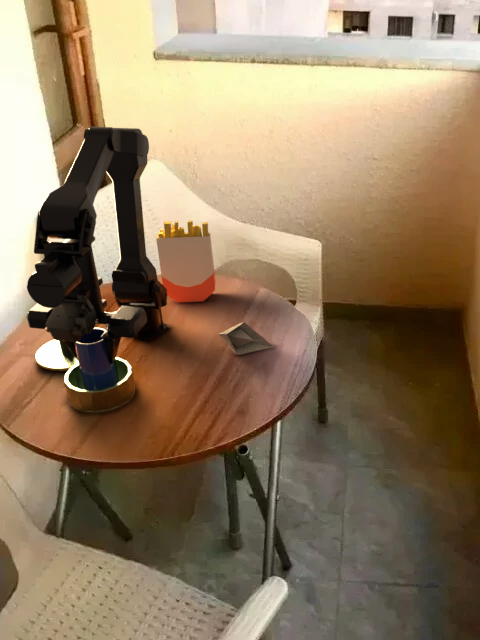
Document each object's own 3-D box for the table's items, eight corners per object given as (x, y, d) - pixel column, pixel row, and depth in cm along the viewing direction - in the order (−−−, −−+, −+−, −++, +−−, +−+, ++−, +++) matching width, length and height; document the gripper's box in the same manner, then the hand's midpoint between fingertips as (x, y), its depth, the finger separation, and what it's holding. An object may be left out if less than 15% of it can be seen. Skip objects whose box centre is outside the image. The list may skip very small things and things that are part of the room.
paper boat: (255, 326, 145) (287, 330, 138) (249, 358, 144) (281, 363, 138) (209, 314, 136) (241, 317, 130) (202, 348, 136) (234, 353, 129)
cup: (101, 373, 129) (91, 324, 124) (124, 382, 127) (115, 333, 121) (77, 388, 125) (66, 338, 120) (100, 398, 123) (90, 347, 117)
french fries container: (167, 293, 160) (156, 215, 150) (216, 291, 161) (209, 213, 151) (165, 303, 156) (154, 223, 146) (215, 300, 157) (208, 221, 147)
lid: (71, 334, 145) (66, 311, 142) (115, 350, 140) (111, 327, 137) (23, 362, 136) (16, 338, 134) (67, 380, 131) (61, 356, 128)
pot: (103, 371, 134) (99, 350, 131) (148, 388, 129) (145, 367, 126) (55, 401, 126) (50, 379, 123) (102, 421, 121) (97, 399, 118)
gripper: (-3, 296, 110) (21, 381, 118) (111, 306, 107) (127, 393, 115) (35, 265, 119) (55, 346, 128) (141, 274, 116) (154, 357, 124)
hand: (96, 361), depth 123 cm, fingers closed on cup, 6 cm apart
